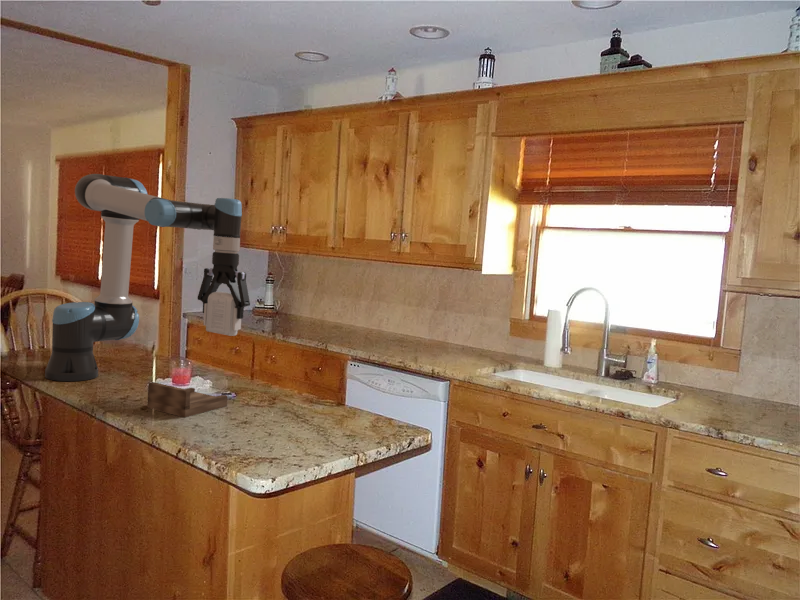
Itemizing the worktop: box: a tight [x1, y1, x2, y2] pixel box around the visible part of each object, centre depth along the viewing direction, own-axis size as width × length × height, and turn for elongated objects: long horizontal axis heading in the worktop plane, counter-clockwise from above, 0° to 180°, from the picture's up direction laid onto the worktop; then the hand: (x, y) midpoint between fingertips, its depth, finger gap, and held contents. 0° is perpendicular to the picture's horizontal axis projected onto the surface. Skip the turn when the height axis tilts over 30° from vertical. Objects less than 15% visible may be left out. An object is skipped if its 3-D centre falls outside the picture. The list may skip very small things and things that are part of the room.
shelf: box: [146, 381, 228, 418], centre depth 181 cm, size 14×16×7 cm
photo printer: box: [205, 291, 239, 337], centre depth 190 cm, size 10×4×12 cm, turn 62°
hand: (221, 327), depth 190 cm, fingers closed on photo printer, 10 cm apart
